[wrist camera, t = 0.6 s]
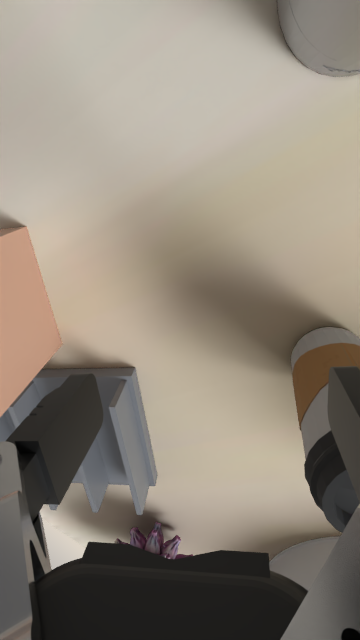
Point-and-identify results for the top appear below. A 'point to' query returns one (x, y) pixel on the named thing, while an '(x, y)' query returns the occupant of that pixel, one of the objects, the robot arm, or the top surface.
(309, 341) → the coffee cup
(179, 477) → the top surface
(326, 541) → the kettle
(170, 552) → the flower
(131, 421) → the rack
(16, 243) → the tall peach block
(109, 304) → the top surface
